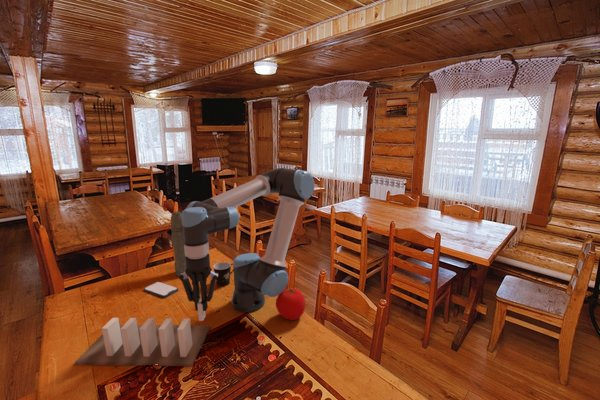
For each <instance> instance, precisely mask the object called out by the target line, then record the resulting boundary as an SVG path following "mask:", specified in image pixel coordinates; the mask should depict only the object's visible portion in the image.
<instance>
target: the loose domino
mask: <svg viewBox="0 0 600 400" xmlns="http://www.w3.org/2000/svg"><path fill="white" fill-rule="evenodd" d="M177 332H178V341H179V349H180V357H186V356H187V354H188V352H189V351H190V349H191V347H192V335H191V318H185V317H184V318H183V319H182V321H181V323H180V326H179V327H178V329H177Z"/></svg>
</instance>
